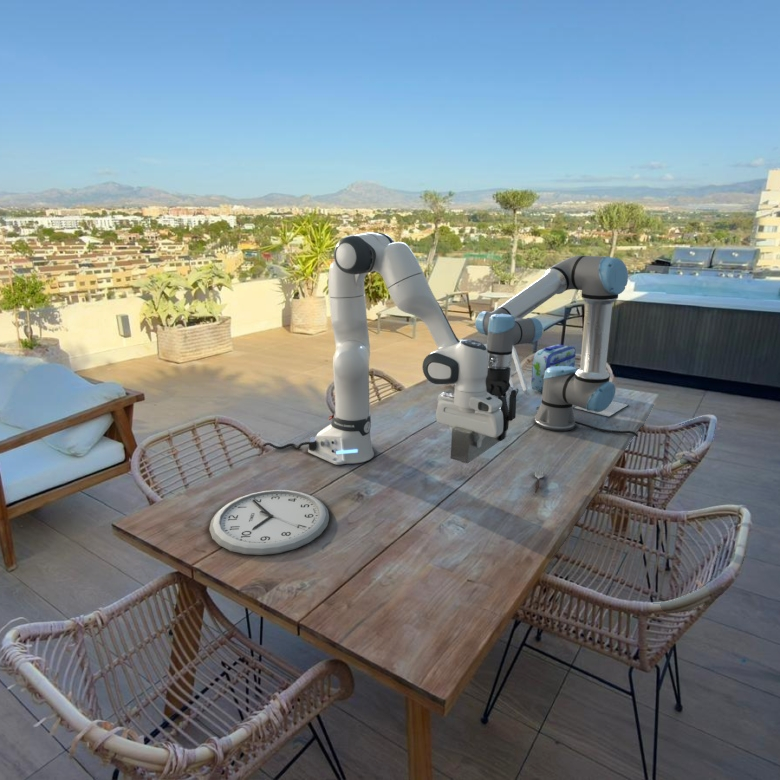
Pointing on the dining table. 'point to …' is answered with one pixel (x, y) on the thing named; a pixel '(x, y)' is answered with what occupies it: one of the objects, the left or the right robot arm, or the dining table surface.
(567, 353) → the lunch box
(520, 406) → the dining table surface
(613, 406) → the invitation card
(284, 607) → the dining table surface
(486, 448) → the bar
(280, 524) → the wall clock
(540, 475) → the fork
